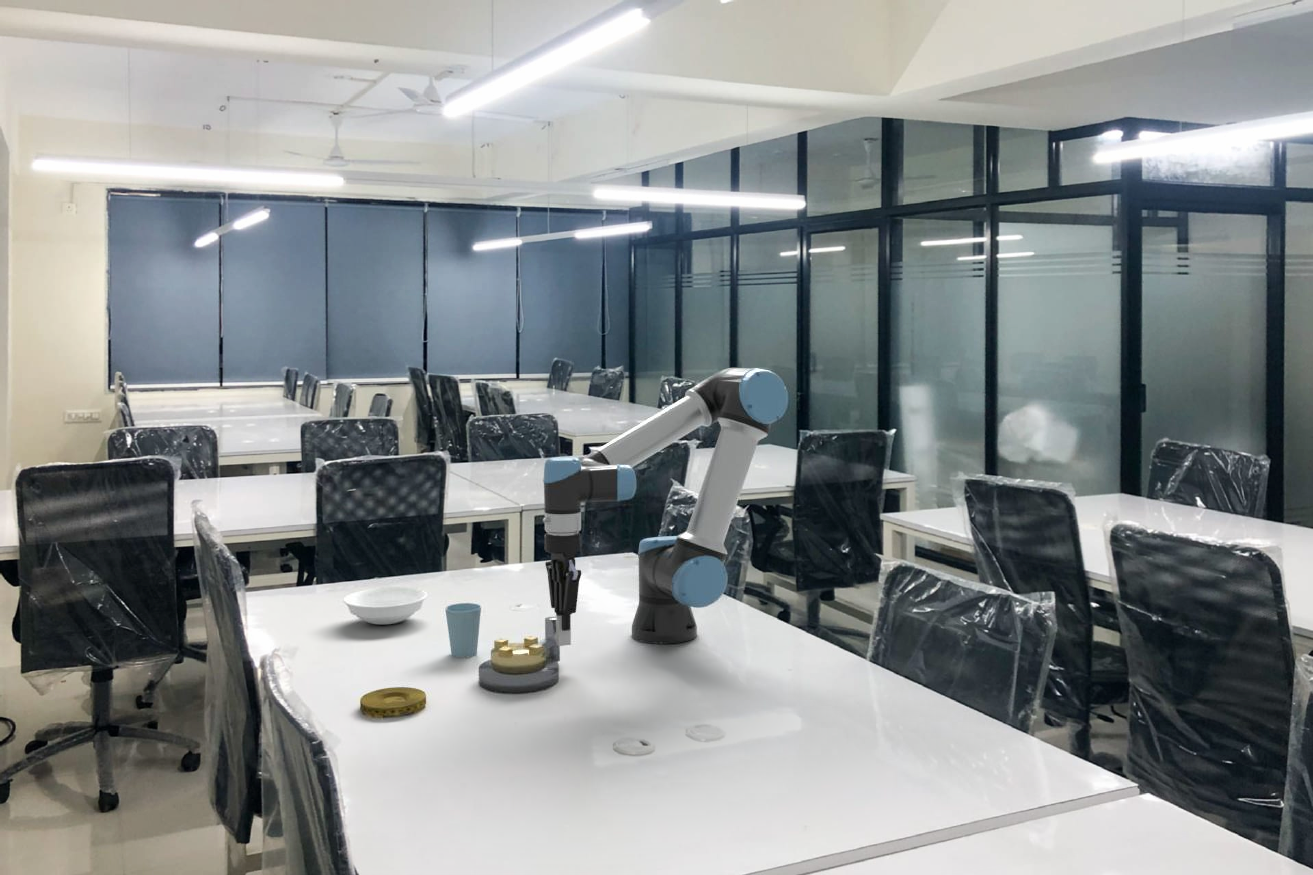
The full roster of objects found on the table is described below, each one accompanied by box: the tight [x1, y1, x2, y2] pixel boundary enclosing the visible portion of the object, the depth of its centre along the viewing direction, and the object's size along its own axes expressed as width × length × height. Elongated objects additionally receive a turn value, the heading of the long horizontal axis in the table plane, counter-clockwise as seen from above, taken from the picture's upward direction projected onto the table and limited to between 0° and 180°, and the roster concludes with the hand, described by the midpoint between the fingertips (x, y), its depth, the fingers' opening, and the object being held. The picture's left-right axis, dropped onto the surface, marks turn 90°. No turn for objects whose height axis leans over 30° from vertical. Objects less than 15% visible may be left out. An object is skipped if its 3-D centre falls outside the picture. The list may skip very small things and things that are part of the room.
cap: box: [478, 657, 560, 695], centre depth 217 cm, size 16×16×3 cm
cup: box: [445, 602, 482, 658], centre depth 236 cm, size 8×8×10 cm
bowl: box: [342, 586, 428, 625], centre depth 262 cm, size 20×20×6 cm
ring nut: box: [490, 616, 561, 673], centre depth 220 cm, size 19×11×9 cm, turn 151°
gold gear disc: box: [359, 686, 427, 719], centre depth 202 cm, size 12×12×2 cm
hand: (563, 644), depth 224 cm, fingers closed
